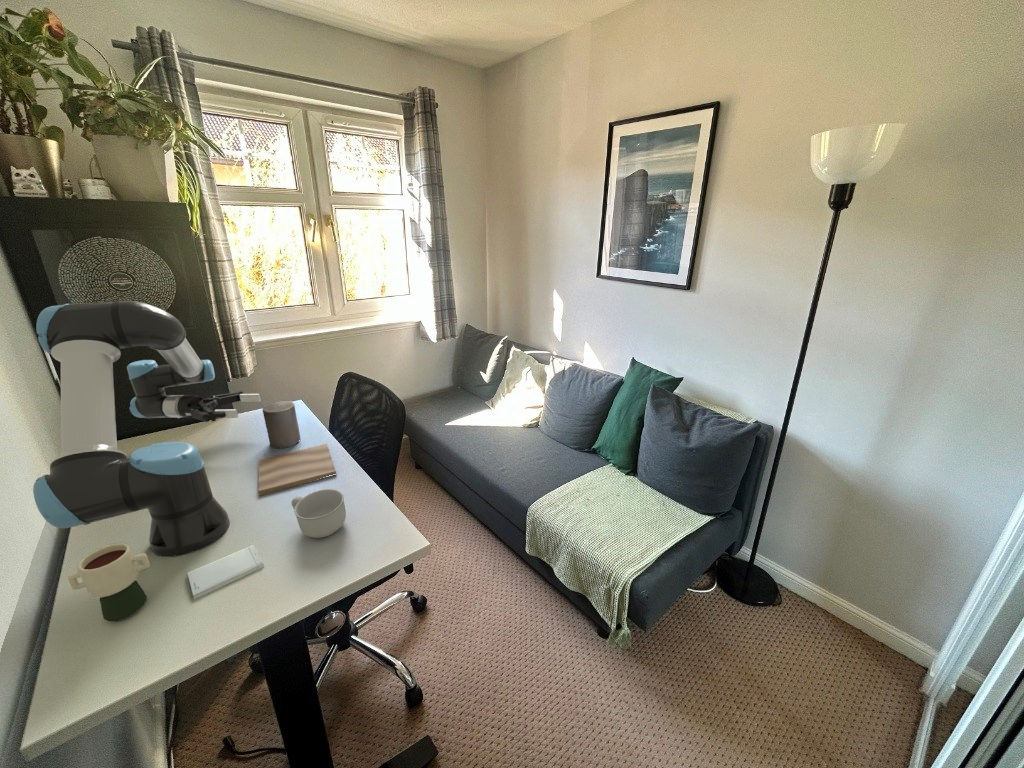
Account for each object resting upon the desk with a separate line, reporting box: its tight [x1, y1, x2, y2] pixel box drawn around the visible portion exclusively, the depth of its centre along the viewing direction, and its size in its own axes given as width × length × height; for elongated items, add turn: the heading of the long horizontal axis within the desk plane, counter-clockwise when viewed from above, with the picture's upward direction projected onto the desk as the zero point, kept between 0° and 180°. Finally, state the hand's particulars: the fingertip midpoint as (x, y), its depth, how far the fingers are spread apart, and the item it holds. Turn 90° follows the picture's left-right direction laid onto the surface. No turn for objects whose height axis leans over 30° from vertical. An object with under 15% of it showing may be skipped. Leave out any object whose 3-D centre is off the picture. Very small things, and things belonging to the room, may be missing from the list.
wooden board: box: [258, 443, 337, 496], centre depth 126 cm, size 20×20×2 cm
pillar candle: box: [262, 400, 301, 450], centre depth 141 cm, size 10×10×15 cm
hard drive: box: [186, 544, 265, 600], centre depth 88 cm, size 2×8×12 cm
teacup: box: [290, 488, 347, 539], centre depth 99 cm, size 14×11×8 cm
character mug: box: [67, 542, 151, 623], centre depth 76 cm, size 11×7×13 cm, turn 120°
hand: (248, 405), depth 139 cm, fingers open, 13 cm apart
